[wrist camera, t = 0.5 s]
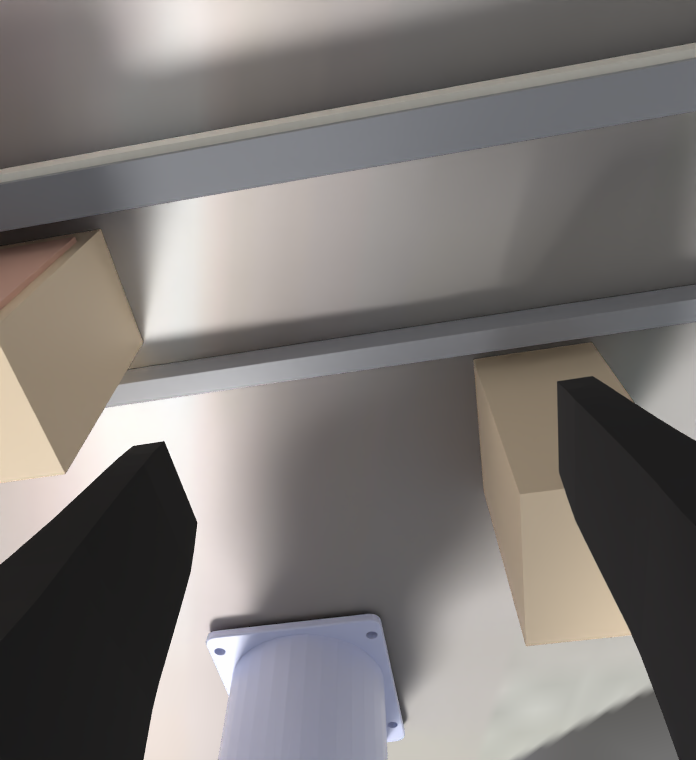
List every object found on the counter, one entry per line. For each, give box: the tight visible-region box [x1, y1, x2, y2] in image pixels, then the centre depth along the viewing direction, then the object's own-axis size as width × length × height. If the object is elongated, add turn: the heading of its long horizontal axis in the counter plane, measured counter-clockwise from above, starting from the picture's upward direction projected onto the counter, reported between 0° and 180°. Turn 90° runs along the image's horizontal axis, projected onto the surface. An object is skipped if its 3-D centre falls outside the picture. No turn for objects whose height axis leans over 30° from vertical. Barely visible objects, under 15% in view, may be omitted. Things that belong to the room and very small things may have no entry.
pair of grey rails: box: [0, 43, 696, 408], centre depth 19 cm, size 8×26×2 cm, turn 100°
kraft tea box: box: [473, 342, 634, 646], centre depth 20 cm, size 4×6×7 cm
